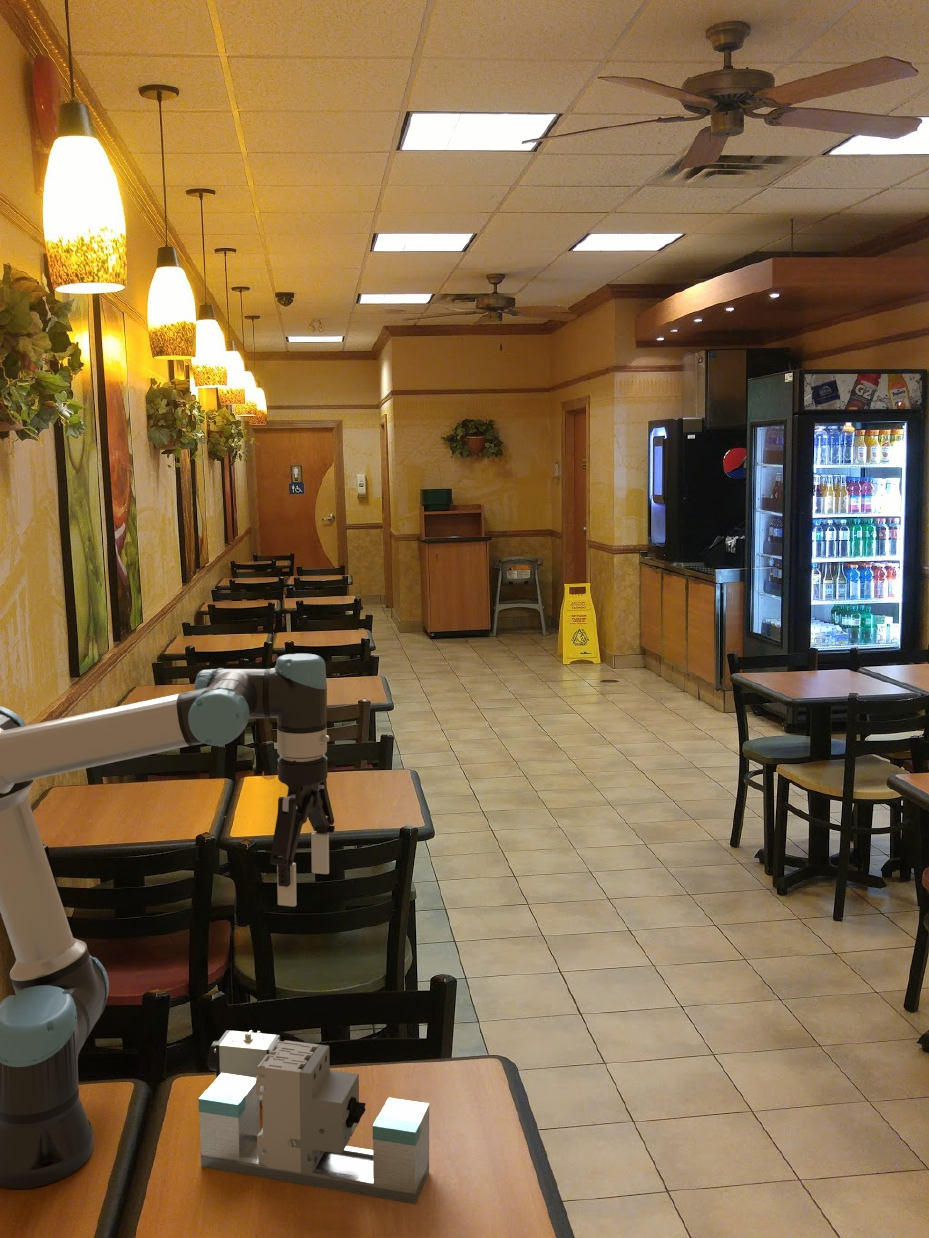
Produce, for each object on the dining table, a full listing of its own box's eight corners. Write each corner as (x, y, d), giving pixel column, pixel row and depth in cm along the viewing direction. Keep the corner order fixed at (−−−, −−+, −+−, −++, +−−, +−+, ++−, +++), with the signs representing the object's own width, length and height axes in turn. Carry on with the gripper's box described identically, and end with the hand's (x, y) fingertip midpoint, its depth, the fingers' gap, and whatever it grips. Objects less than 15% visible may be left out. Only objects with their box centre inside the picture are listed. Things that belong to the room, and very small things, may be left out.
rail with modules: (200, 1167, 155) (198, 1098, 154) (222, 1138, 162) (221, 1072, 161) (415, 1204, 148) (415, 1132, 146) (429, 1172, 155) (429, 1102, 153)
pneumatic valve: (280, 1116, 168) (279, 1044, 166) (208, 1109, 170) (206, 1037, 168) (291, 1096, 173) (290, 1026, 172) (221, 1089, 175) (220, 1019, 173)
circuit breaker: (354, 1180, 150) (353, 1078, 148) (257, 1165, 153) (255, 1066, 151) (370, 1147, 157) (369, 1050, 155) (277, 1134, 160) (276, 1039, 158)
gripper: (293, 779, 153) (295, 922, 156) (353, 737, 177) (354, 862, 180) (244, 775, 155) (247, 917, 158) (310, 735, 179) (311, 858, 182)
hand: (304, 888), depth 169 cm, fingers open, 13 cm apart
